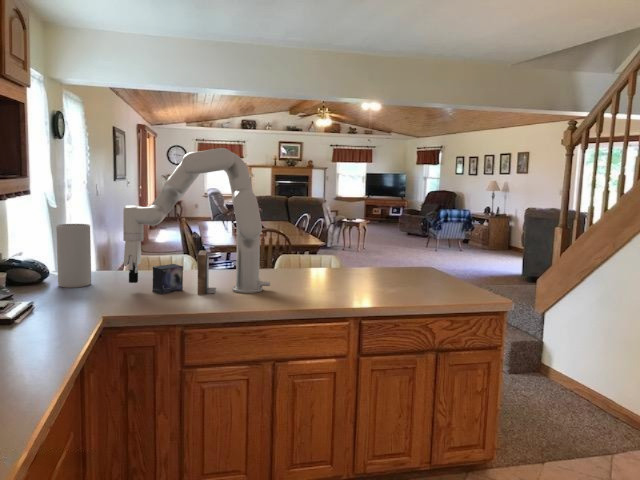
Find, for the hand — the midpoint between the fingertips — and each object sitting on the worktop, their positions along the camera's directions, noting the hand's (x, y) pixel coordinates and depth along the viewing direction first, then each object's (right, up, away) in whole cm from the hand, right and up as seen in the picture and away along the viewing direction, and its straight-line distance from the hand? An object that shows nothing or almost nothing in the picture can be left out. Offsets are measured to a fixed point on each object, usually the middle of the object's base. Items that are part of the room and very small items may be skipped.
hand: (133, 282), depth 203 cm
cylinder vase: (-27, -2, +8) cm, 29 cm away
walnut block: (+27, -4, +5) cm, 27 cm away
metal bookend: (+30, -4, +5) cm, 31 cm away
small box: (+13, -4, +3) cm, 14 cm away
